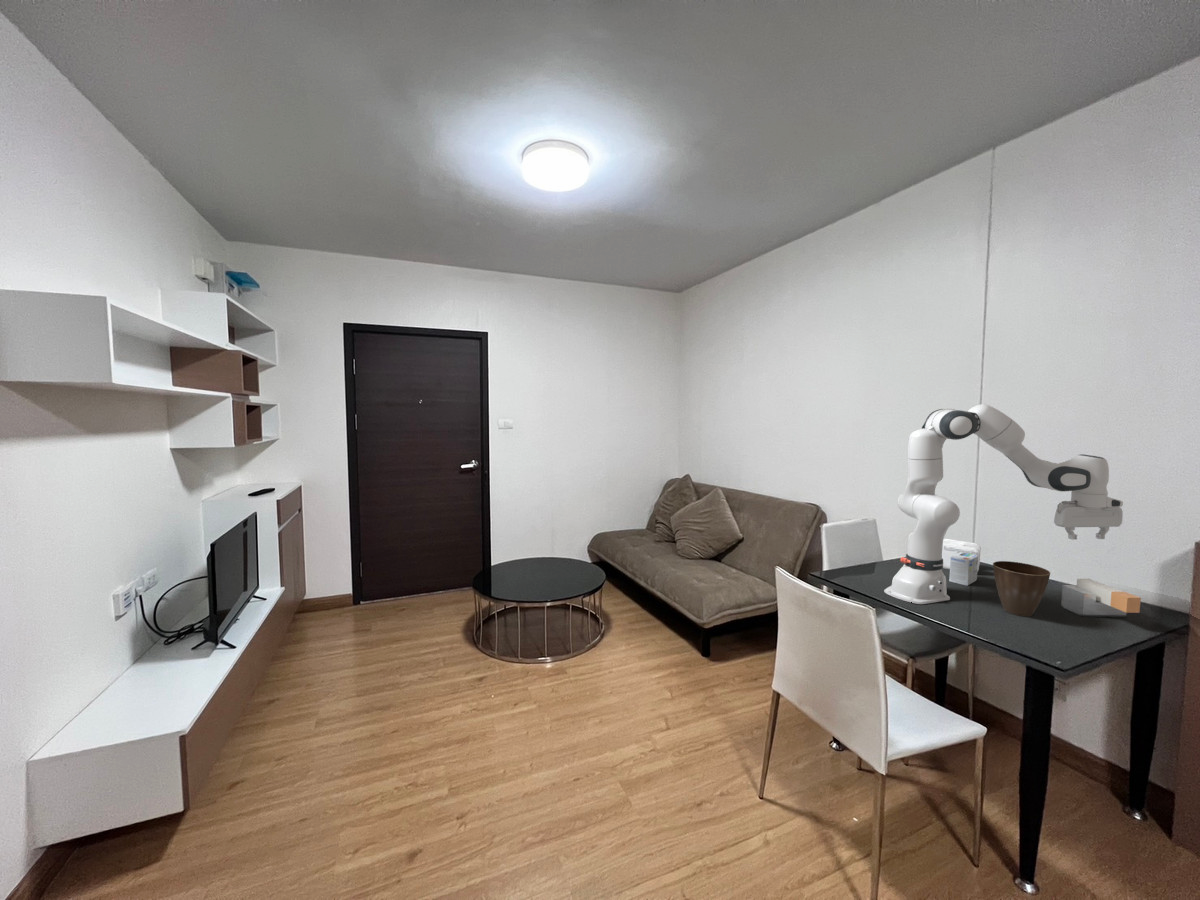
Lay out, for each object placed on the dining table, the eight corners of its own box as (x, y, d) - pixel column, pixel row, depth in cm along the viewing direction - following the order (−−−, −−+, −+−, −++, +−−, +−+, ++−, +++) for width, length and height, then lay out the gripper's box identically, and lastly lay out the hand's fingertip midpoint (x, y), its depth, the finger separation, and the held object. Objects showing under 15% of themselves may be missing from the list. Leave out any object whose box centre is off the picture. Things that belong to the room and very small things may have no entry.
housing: (1061, 606, 168) (1062, 585, 168) (1102, 607, 168) (1104, 585, 167) (1082, 616, 160) (1084, 593, 160) (1126, 617, 160) (1128, 594, 159)
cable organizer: (981, 570, 207) (983, 544, 206) (977, 575, 200) (979, 549, 199) (940, 562, 218) (942, 537, 217) (935, 567, 211) (936, 542, 210)
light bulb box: (958, 575, 200) (959, 551, 199) (977, 580, 195) (979, 555, 194) (948, 581, 194) (949, 556, 193) (968, 586, 188) (969, 560, 187)
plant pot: (988, 600, 175) (990, 558, 173) (1042, 609, 166) (1045, 565, 165) (992, 614, 162) (995, 569, 161) (1051, 625, 154) (1055, 578, 153)
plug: (1075, 592, 168) (1077, 578, 168) (1087, 592, 168) (1088, 578, 167) (1126, 612, 151) (1127, 597, 151) (1139, 612, 151) (1140, 597, 150)
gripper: (1066, 502, 162) (1064, 541, 163) (1128, 501, 161) (1125, 541, 163) (1049, 499, 168) (1047, 536, 170) (1109, 498, 168) (1106, 536, 169)
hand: (1086, 538), depth 166 cm, fingers open, 8 cm apart
